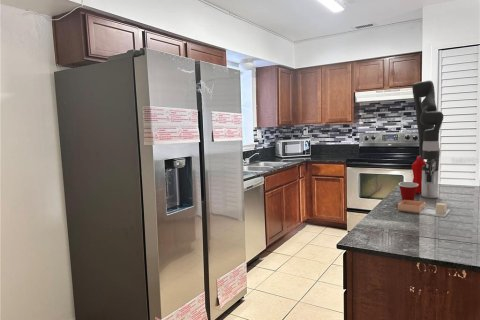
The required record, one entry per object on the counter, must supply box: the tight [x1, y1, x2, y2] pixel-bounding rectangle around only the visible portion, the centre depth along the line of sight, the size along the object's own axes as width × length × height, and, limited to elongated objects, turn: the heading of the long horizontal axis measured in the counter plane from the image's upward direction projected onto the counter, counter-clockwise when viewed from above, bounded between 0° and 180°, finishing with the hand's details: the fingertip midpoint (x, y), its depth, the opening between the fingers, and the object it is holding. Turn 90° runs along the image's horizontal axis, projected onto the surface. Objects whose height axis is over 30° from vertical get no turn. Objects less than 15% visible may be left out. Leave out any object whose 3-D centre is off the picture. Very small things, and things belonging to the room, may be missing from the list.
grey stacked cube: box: [425, 174, 436, 184], centre depth 176 cm, size 4×4×5 cm
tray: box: [419, 206, 451, 218], centre depth 176 cm, size 14×12×1 cm
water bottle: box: [410, 155, 427, 194], centre depth 225 cm, size 9×11×25 cm
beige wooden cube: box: [435, 202, 448, 215], centre depth 174 cm, size 4×4×5 cm
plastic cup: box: [398, 181, 418, 201], centre depth 198 cm, size 11×11×12 cm
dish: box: [397, 200, 426, 214], centre depth 183 cm, size 12×11×4 cm
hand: (430, 181), depth 176 cm, fingers closed on grey stacked cube, 4 cm apart
